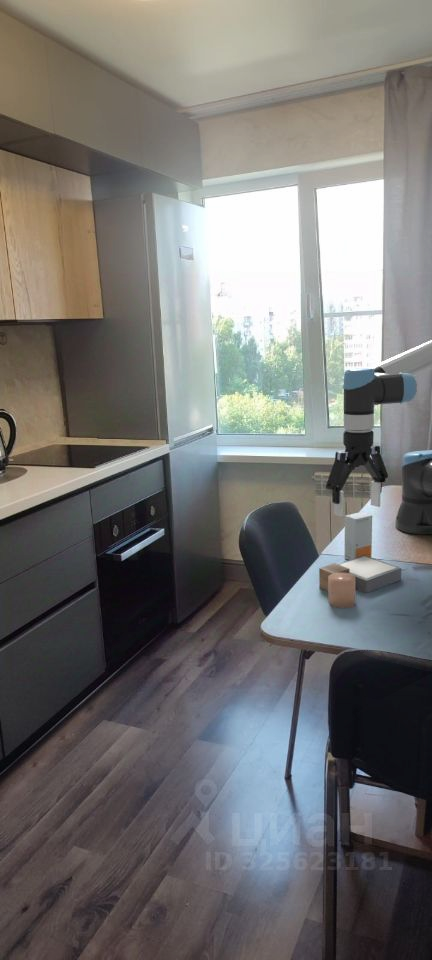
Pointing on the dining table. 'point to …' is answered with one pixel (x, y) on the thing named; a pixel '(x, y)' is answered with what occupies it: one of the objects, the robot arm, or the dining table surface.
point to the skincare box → (358, 535)
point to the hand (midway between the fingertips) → (357, 510)
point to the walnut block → (329, 570)
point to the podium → (372, 573)
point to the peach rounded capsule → (341, 590)
